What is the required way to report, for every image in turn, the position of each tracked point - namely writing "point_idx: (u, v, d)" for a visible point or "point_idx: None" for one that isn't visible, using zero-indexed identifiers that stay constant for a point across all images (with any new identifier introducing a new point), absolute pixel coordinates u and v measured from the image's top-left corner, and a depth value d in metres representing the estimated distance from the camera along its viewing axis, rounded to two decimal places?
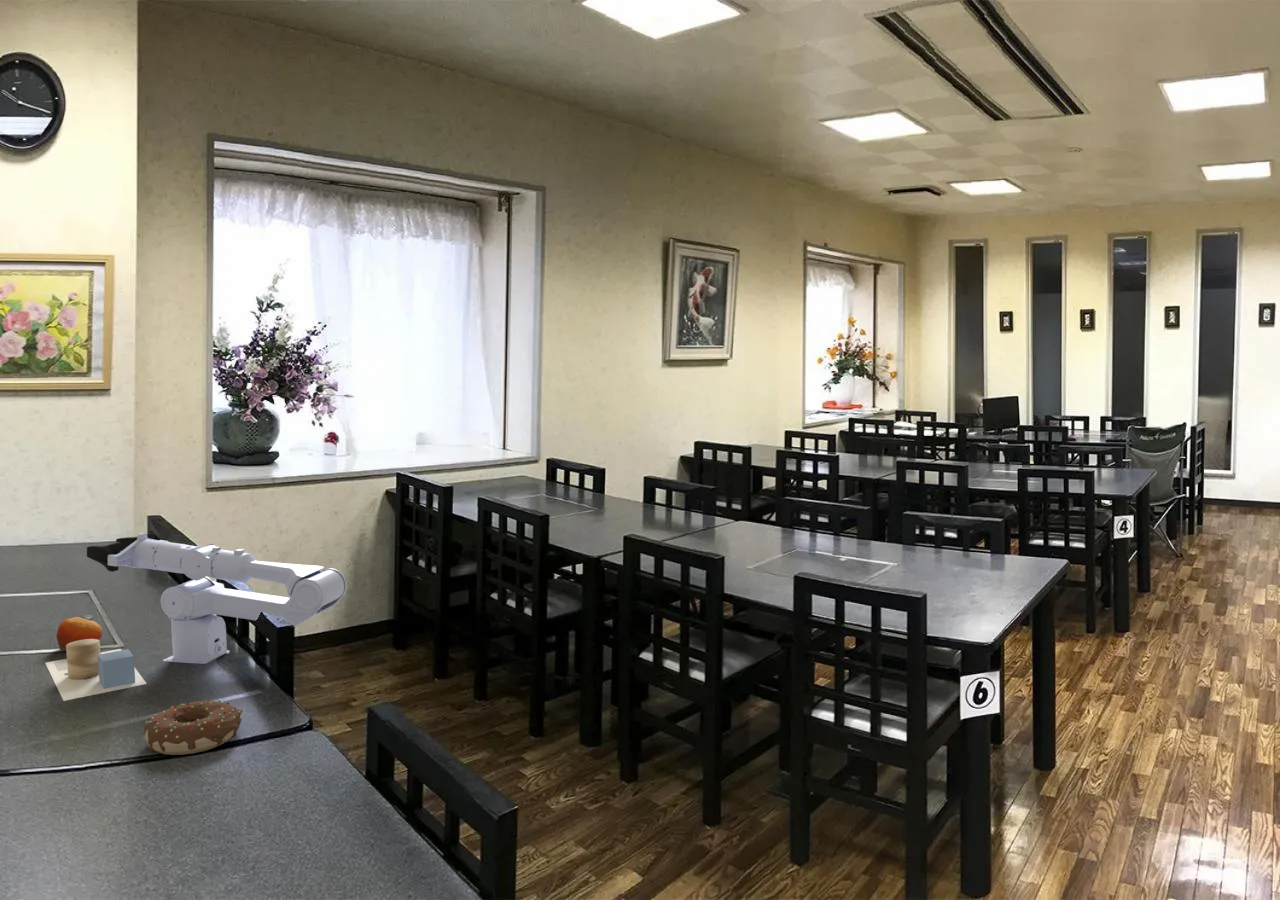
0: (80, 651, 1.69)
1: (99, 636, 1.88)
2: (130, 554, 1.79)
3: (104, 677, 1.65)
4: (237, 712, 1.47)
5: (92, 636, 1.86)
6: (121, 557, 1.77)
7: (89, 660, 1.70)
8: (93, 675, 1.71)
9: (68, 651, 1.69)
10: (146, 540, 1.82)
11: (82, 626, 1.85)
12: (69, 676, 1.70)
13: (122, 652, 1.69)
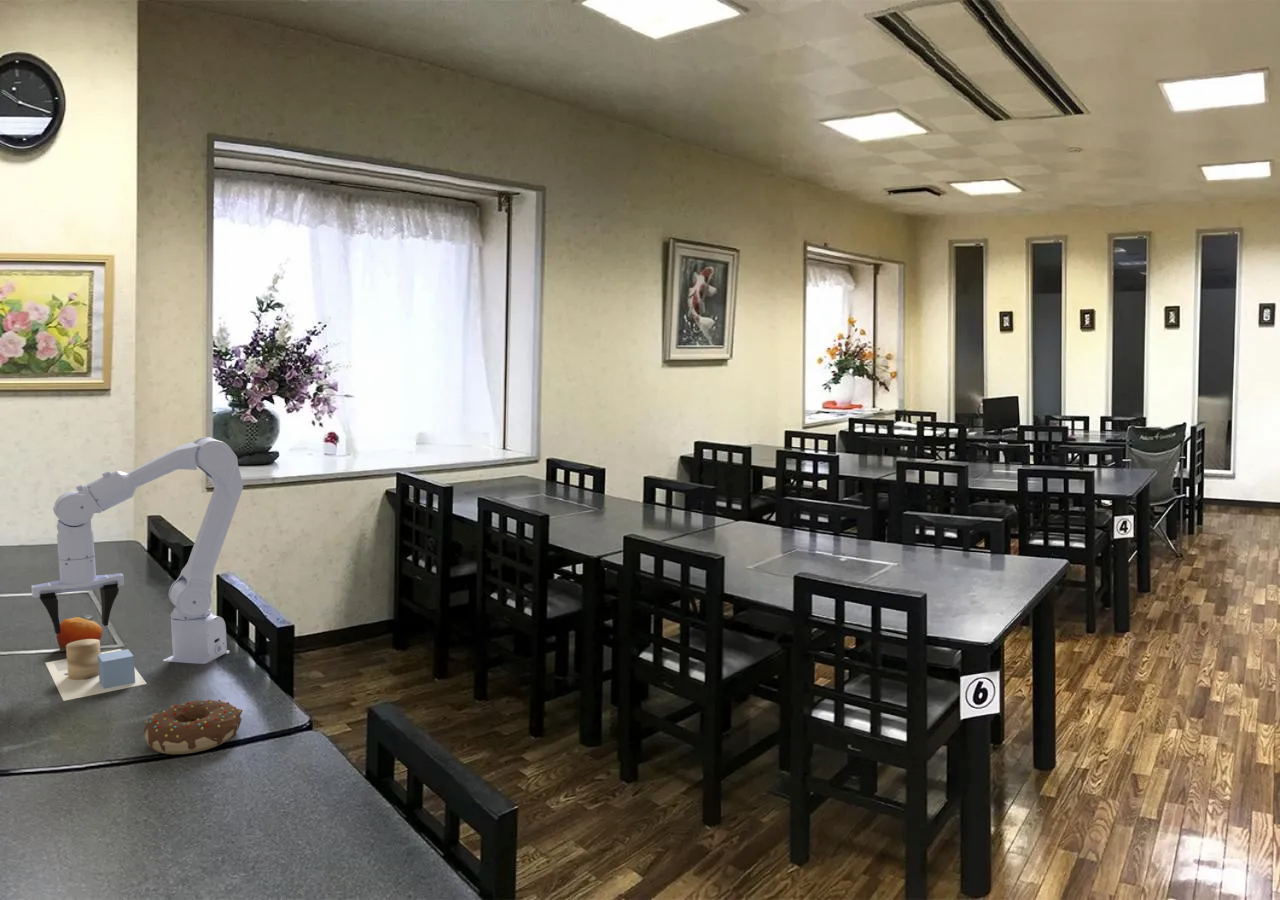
0: (80, 651, 1.69)
1: (99, 636, 1.88)
2: None
3: (104, 677, 1.65)
4: (237, 712, 1.47)
5: (92, 636, 1.86)
6: None
7: (89, 660, 1.70)
8: (93, 675, 1.71)
9: (68, 651, 1.69)
10: None
11: (82, 626, 1.85)
12: (69, 676, 1.70)
13: (122, 652, 1.69)
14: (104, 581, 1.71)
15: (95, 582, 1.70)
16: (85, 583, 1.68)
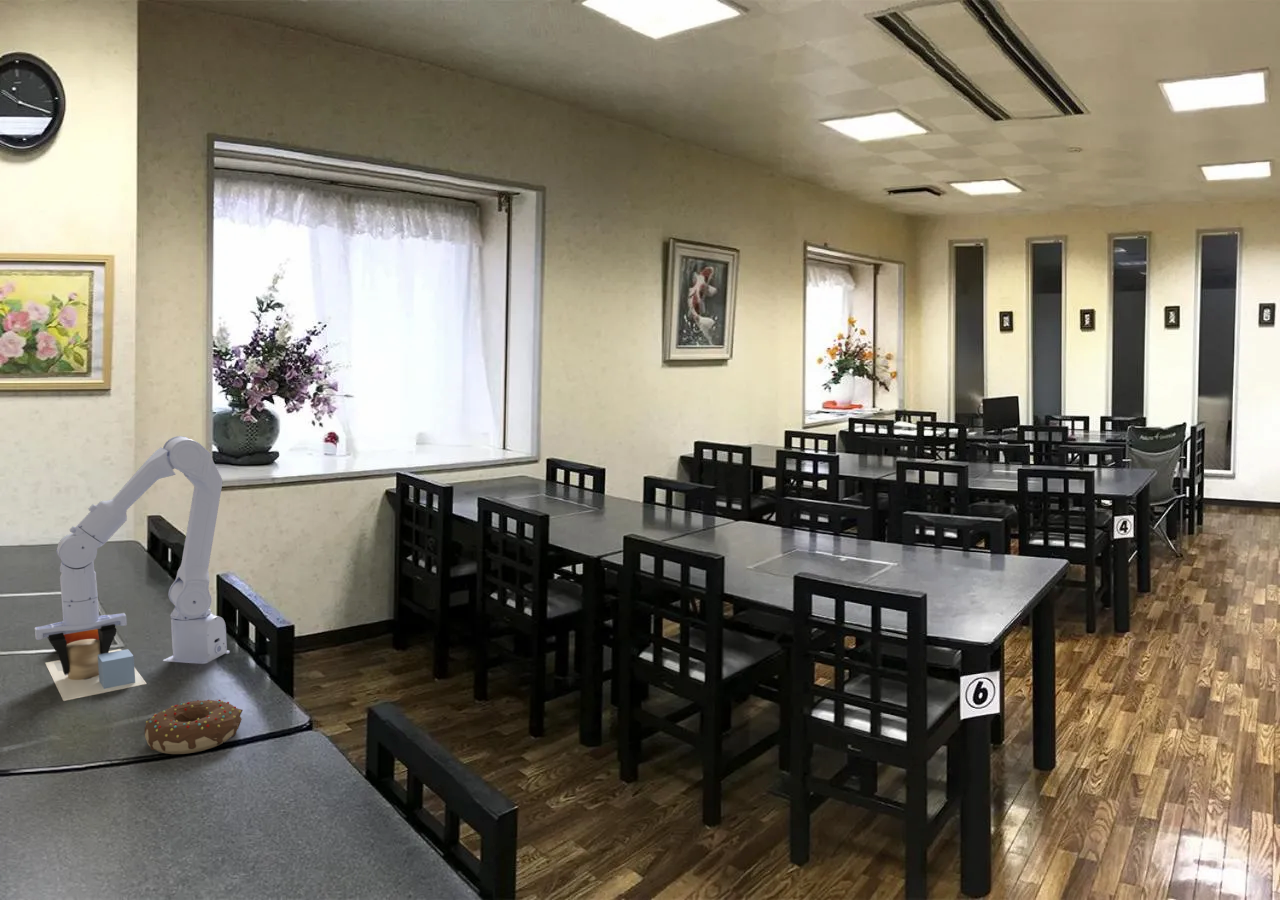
0: (80, 651, 1.69)
1: None
2: None
3: (104, 677, 1.65)
4: (237, 711, 1.47)
5: (92, 636, 1.86)
6: None
7: (89, 660, 1.70)
8: (93, 675, 1.71)
9: (68, 651, 1.69)
10: None
11: None
12: (69, 676, 1.70)
13: (122, 652, 1.69)
14: (107, 622, 1.72)
15: (98, 623, 1.71)
16: (88, 624, 1.69)
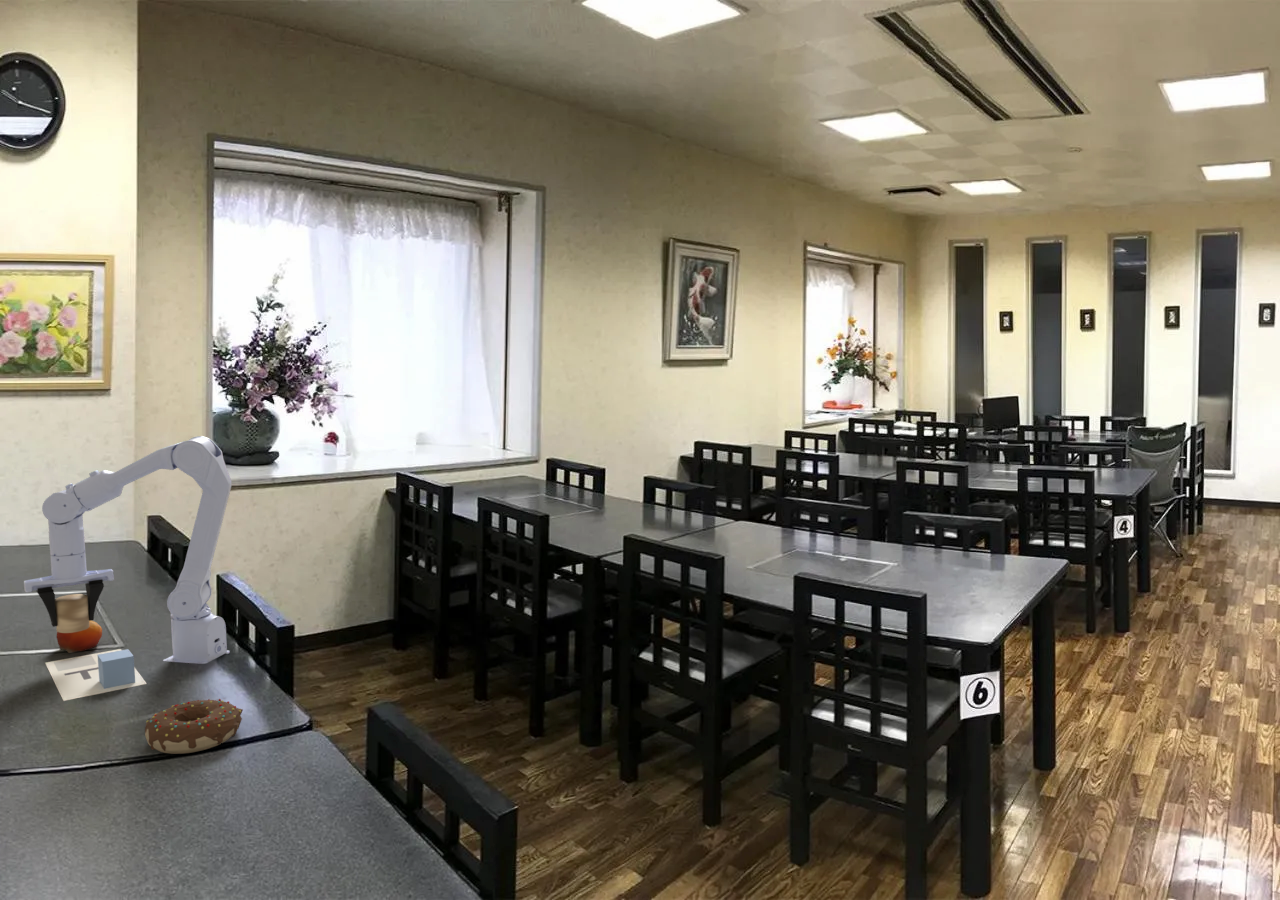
0: (69, 605, 1.74)
1: (99, 636, 1.88)
2: None
3: (104, 677, 1.65)
4: (237, 711, 1.47)
5: (92, 636, 1.86)
6: None
7: (77, 614, 1.75)
8: (81, 629, 1.76)
9: (56, 605, 1.74)
10: None
11: None
12: (57, 629, 1.75)
13: (122, 652, 1.69)
14: (94, 576, 1.77)
15: (86, 578, 1.76)
16: (76, 578, 1.74)
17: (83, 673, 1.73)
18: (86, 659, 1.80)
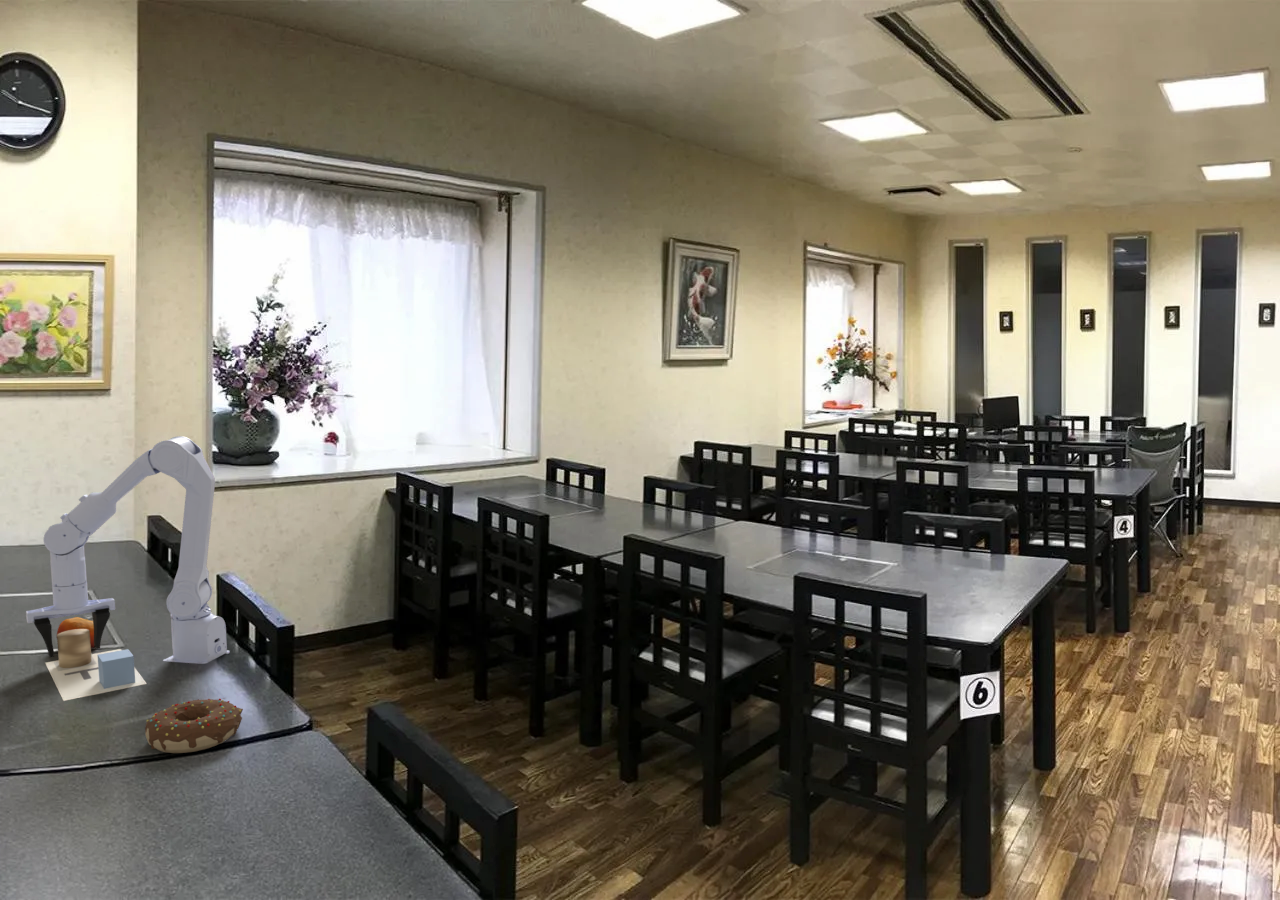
0: (71, 640, 1.75)
1: None
2: None
3: (104, 677, 1.65)
4: (237, 710, 1.47)
5: (92, 636, 1.86)
6: None
7: (79, 649, 1.76)
8: (83, 664, 1.77)
9: (59, 640, 1.75)
10: None
11: (82, 626, 1.85)
12: (60, 664, 1.76)
13: (122, 652, 1.69)
14: (96, 606, 1.78)
15: (87, 608, 1.77)
16: (78, 608, 1.75)
17: (83, 673, 1.73)
18: None
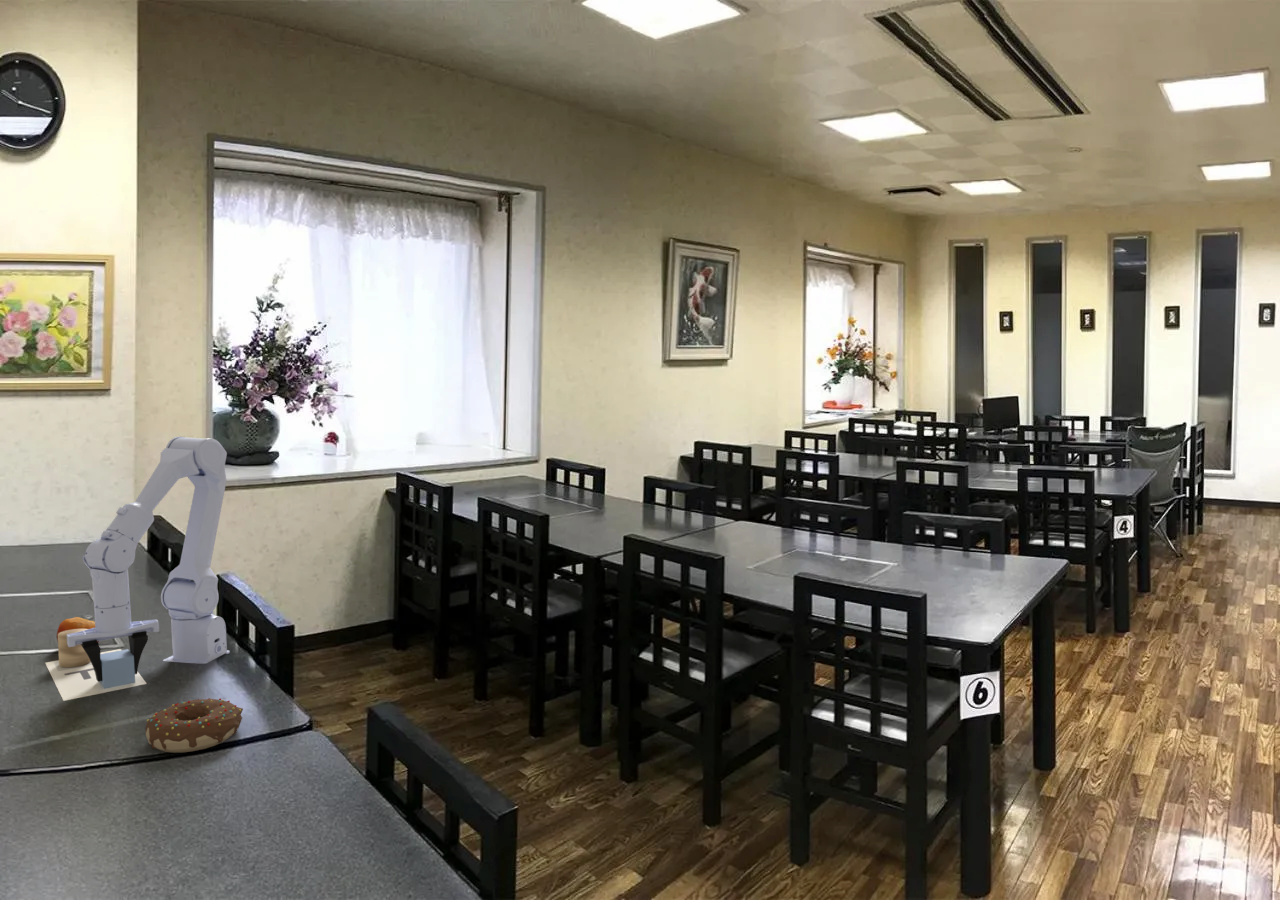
0: None
1: None
2: None
3: (104, 677, 1.65)
4: (238, 710, 1.47)
5: None
6: None
7: (79, 649, 1.76)
8: (82, 663, 1.77)
9: (59, 639, 1.75)
10: None
11: (82, 626, 1.85)
12: (60, 664, 1.76)
13: (122, 652, 1.69)
14: (139, 628, 1.68)
15: (131, 630, 1.67)
16: (121, 631, 1.65)
17: (83, 673, 1.73)
18: None
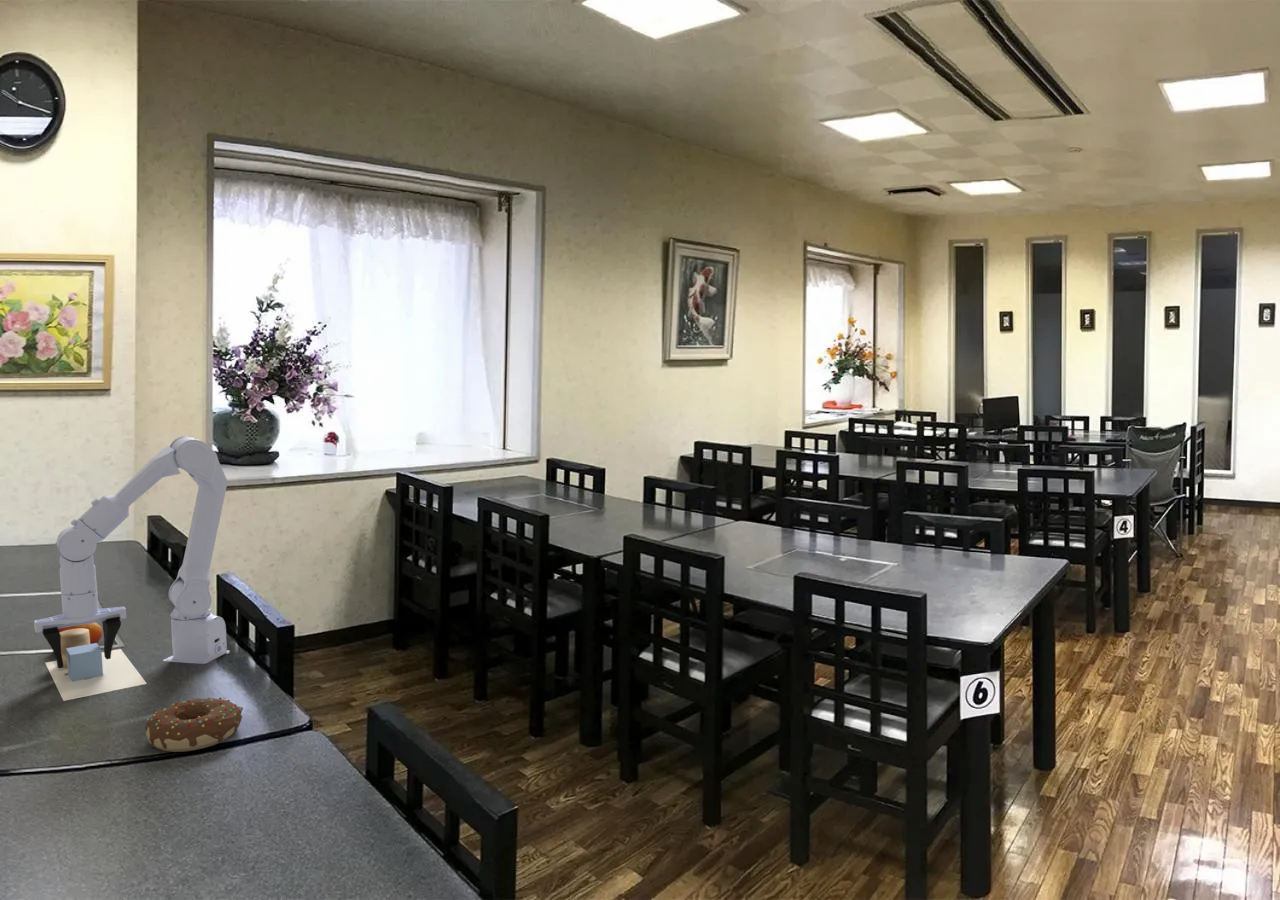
0: (68, 641, 1.75)
1: (99, 636, 1.88)
2: None
3: (72, 670, 1.68)
4: (238, 709, 1.48)
5: (92, 636, 1.86)
6: None
7: None
8: None
9: None
10: None
11: (82, 626, 1.85)
12: None
13: (90, 646, 1.73)
14: (106, 615, 1.72)
15: (98, 617, 1.70)
16: (88, 617, 1.69)
17: None
18: None
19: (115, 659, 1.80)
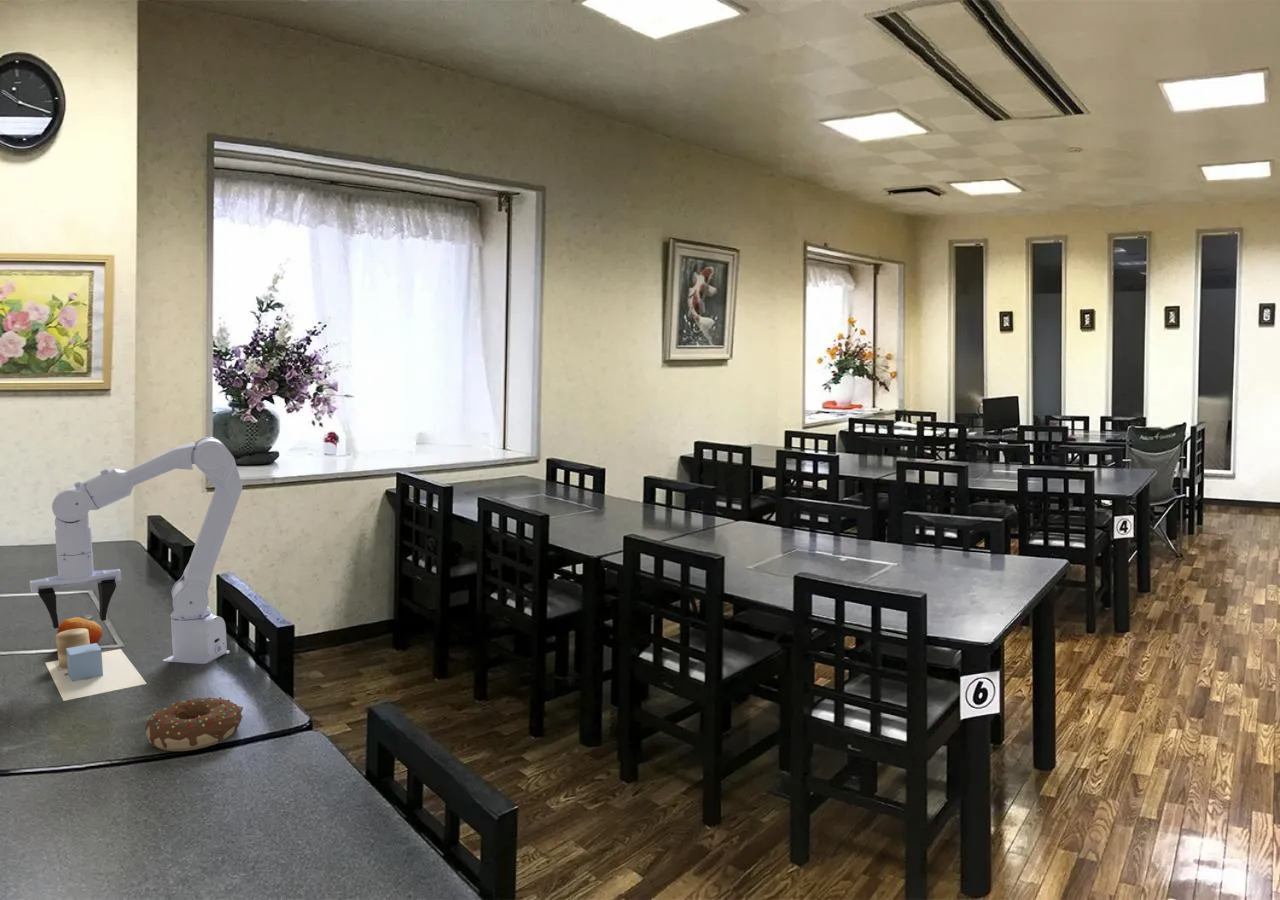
0: (65, 641, 1.75)
1: (99, 636, 1.88)
2: None
3: (72, 670, 1.68)
4: (238, 709, 1.48)
5: (92, 636, 1.86)
6: None
7: None
8: None
9: (56, 640, 1.76)
10: None
11: (82, 626, 1.85)
12: (59, 664, 1.77)
13: (90, 646, 1.73)
14: (102, 576, 1.73)
15: (93, 578, 1.72)
16: (83, 578, 1.70)
17: None
18: None
19: (115, 659, 1.80)
